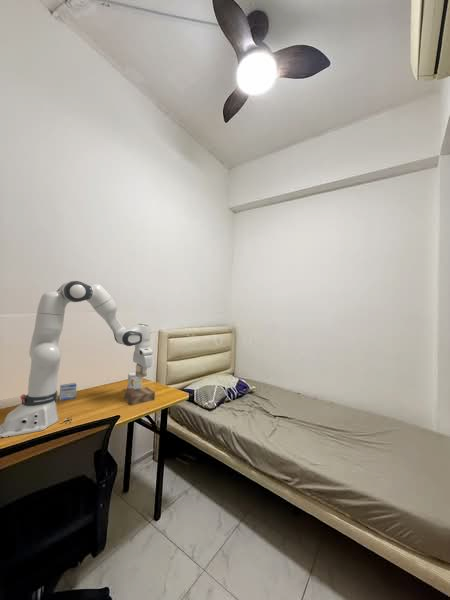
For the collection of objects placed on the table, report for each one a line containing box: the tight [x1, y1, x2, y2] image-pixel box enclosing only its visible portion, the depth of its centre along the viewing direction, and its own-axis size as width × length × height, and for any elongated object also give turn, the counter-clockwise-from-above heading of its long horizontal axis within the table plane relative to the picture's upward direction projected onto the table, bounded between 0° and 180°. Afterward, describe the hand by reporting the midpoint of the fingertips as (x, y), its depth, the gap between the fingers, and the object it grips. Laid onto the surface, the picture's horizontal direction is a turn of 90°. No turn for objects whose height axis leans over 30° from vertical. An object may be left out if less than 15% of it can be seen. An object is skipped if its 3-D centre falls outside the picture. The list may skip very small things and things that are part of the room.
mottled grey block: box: [135, 363, 148, 378], centre depth 148 cm, size 5×5×7 cm
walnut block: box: [124, 386, 156, 406], centre depth 147 cm, size 14×12×5 cm
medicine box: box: [59, 382, 77, 402], centre depth 144 cm, size 8×4×9 cm, turn 131°
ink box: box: [126, 372, 143, 391], centre depth 161 cm, size 9×5×12 cm, turn 126°
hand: (141, 371), depth 148 cm, fingers closed on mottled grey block, 5 cm apart
